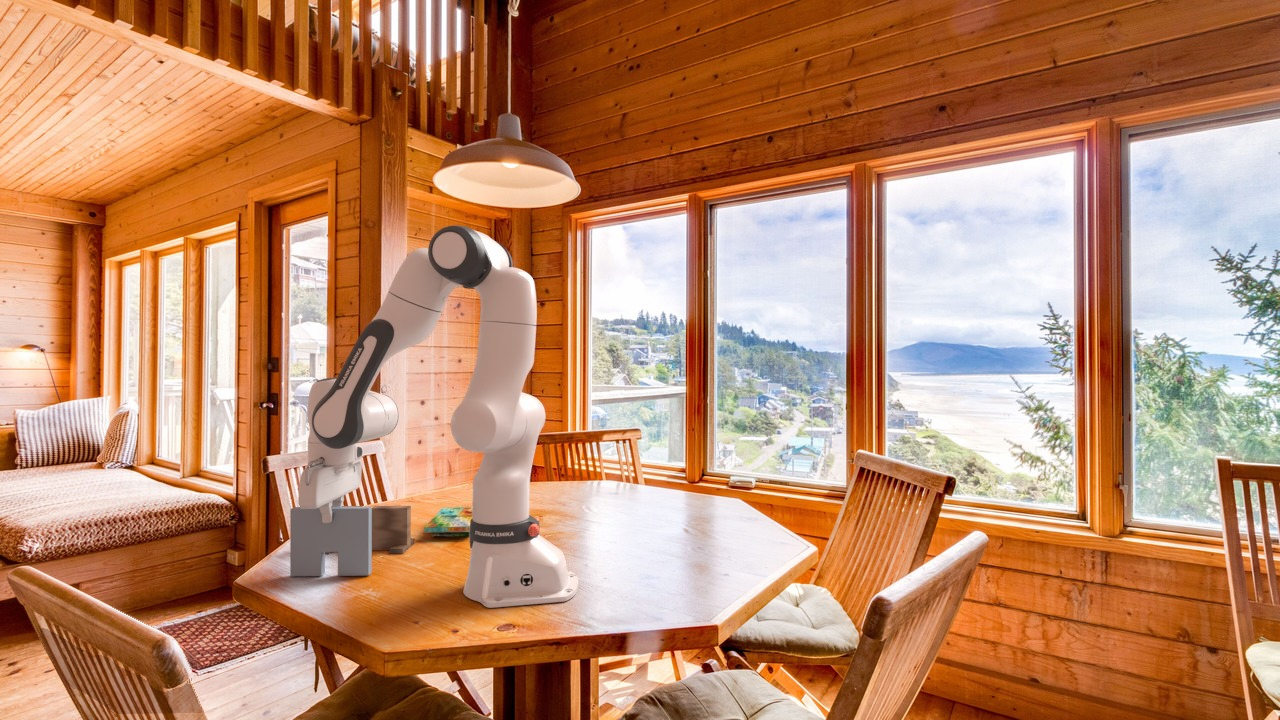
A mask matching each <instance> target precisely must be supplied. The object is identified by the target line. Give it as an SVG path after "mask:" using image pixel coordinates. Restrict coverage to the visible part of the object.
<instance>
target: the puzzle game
mask: <svg viewBox="0 0 1280 720" xmlns="http://www.w3.org/2000/svg"><path fill="white" fill-rule="evenodd" d="M472 515H473V506H463V507H462V506H451V507H449V506H448V507H447V506H444V507H441V509H440V510H439V511H438V512H437V513H436V515H434V516H433V517H432V519H431V520H430V521H429V522H428V523H427V524H426V525H425V526H424V527H423V532H424V533H426V534H427V533H429V534H430V536H432V537H434V536H446V537H469V527H470V520H471V519H472Z"/></svg>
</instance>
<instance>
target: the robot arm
mask: <svg viewBox="0 0 1280 720" xmlns="http://www.w3.org/2000/svg"><path fill="white" fill-rule="evenodd" d="M459 287H462V288H464V289H467V290H468V289H471V290H475V291H476V292H477V293H478V296H479V299H480V313H479V314H480V315H479V316H480V317H479V329H478V340H477V341H478V342H477V353H476V360H475V365H474V368H473V372H472V376H471V377H470V381H469V384H468V388H467V391H466V392H465V396H464V397H463V399H462V401H461V402H460V404H459V405H458V406H457V407H456V408H455V410H454V411H453V413H452V415H451V419H450V432H451V435H452V437H453V439H454V441H455V443H457V445H458V446H459V447H461V449H464V450H465V451H469V452H473V453H483V455H482V460H481V463H480V465H479V468H478V470H477V471H476V473H475V474H474V476H473V480H472V507H473V515H472V519H471V520H470V527H469V536H468V538H469V539H468V540H469V548H470V555H469V556H470V557H469V558H470V559H469V565H468V570H467V576H466V578H465V579H466V580H465V583H464V587H463V590H462V592H463V595H464V596H465V597H466V598H468V599H469V600H473V601H475V602H479V603H481V604H482V605H483V606H484V607H485V608H490V609H491V608H492V609H493V608H502V607H504V608H505V607H515V606H516V607H517V606H525V605H527V606H529V605H538V604H551V603H561V602H568V601H570V600H571V599H572V598H573V597H575V595H576V594H577V592H578V590H579V584H580V583H579V578H578V576H577V574H576V573H574V572H573V571H570V570H568V565H567V561H566V557H565V554H564V553H563V551H562V550H561V549H560V548H558V547H557V546H556V545H554V544H552V543H551V542H550V541H549V540H547V539H546V538H544V536H542V535H540V518H539V517H538V516H537V518H535V517H534V516H533V515H531V514H530V493H531V492H530V487H531V486H530V485H531V473H532V467H533V463H534V462H533V461H534V457H535V454H536V453H535V452H536V448H537V443H538V439H539V436H540V434H541V431H542V429H543V428H544V426H545V423H546V419H547V418H546V409H545V407H544V404H543V403H542V402H541V401H540V400H539V399H538V398H537V397H536V396H533V395H531V394H529V393H527V392H526V393H525V392H523V389H524V385H525V382H526V379H527V376H528V374H529V373H530V371H531V370H532V368H533V366H534V363H535V354H536V353H535V352H536V351H535V350H536V340H537V338H536V336H537V335H536V334H537V324H538V323H537V321H538V320H537V319H538V317H537V315H538V308H537V307H538V305H537V291H536V284H535V280H534V279H533V276H532V275H530V273H528V272H527V271H525V270H523V269H520V268H518V267H514V263H513V258H512V256H511V254H510V253H509V251H508V249H507V248H506V247H505V246H504V245H503V244H502V243H501V242H498V241H495V239H493V238H491V237H490V235H487V234H485V233H483V232H481V231H477V230H475V229H472V228H471V227H468V226H464V225H458V224H457V225H448V226H444V227H443V228H440V229H439V230H438V231H436V232H435V234H434V235H433V236H432V237H431V240H429V244H428V247H419V248H415V249H413V250H411V251H410V252H408V254H407V256H406V258H405V259H404V260H403V262H402V263H401V265H400V267H399V268H398V270H397V272H396V274H395V275H394V277H393V279H392V282H391V283H390V287H389V288H388V291H387V294H386V296H385V298H384V300H383V302H382V304H381V306H380V307H379V309H378V311H377V312H376V315H375V316H374V317H373V318H372V320H371V321H370V322H369V323H368V324H367V325H366V327H365V328H364V329H363V330H362V332H360V333H361V334H360V335H359V336H358V338H357V339H356V342H355V343H354V345H353V347H352V349H351V351H350V353H349V354H348V357H347V358H346V360H345V362H344V363H343V365H342V368H341V370H340V371H339V373H338V375H337V376H335V377H326V378H322V379H318V380H317V381H315V382H313V384H312V385H311V387H310V390H309V395H308V401H307V422H308V423H307V424H308V425H309V434H308V438H307V465H306V467H305V468H304V470H303V471H302V472H301V475H300V477H299V484H298V485H299V486H298V487H299V488H298V497H297V498H298V500H297V501H298V503H297V504H298V507H300V508H301V509H317V508H319V509H320V512H321V514H322V522H323V523H330V522H332V521H333V520H334V513H332V510H331V507H342V506H343V504H344V501H345V495H347V494H349V493H351V492H353V491H356V490H358V489H359V487H360V485H361V482H362V469H363V467H362V465H363V462H362V457H363V456H364V454H365V453H364V447H363V446H361V445H359V444H360V443H363V442H364V443H365V442H369V441H373V440H376V439H379V438H383V437H385V436H387V435H389V434H391V433H393V431H394V430H395V429H396V427H397V426H398V421H399V415H400V414H399V409H398V406H397V404H396V403H395V400H393V399H392V397H390V396H389V395H387V394H383V393H380V392H377V391H374V390H373V391H372V390H371V389H372V388H373V386H374V383H375V381H376V379H377V377H378V375H379V374H380V372H381V370H382V368H383V367H384V365H385V363H387V362H388V361H389V360H390V359H391V358H392V357H394V356H395V355H397V354H398V353H400V352H402V351H404V350H407V349H409V348H412V347H413V346H416V345H419V344H421V343H423V342H424V341H426V340H427V339H428V338H429V337H430V336H431V335H432V333H433V332H434V330H435V329H436V327H437V325H438V323H439V321H440V318H441V316H442V313H443V311H444V309H445V306H446V303H447V301H448V299H449V297H450V295H451V293H452V292H453V291H454V290H455V289H457V288H459ZM358 443H359V444H358Z"/></svg>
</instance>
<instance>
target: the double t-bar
mask: <svg viewBox="0 0 1280 720" xmlns="http://www.w3.org/2000/svg"><path fill="white" fill-rule="evenodd" d="M342 507H364V506H363V505H342ZM411 509H412V506H411V505H374V506H372V551H389V555H403V554H404V553H406V552H407V551H408V550H409V549H410V548H411V547H413V546H414V545H415V538H412V537H411V536H412V535H411V532H412V531H411V526H412V524H411V523H412V522H411V521H412V518H411V517H412V515H411V513H412V512H411V511H412V510H411ZM406 550H407V551H406ZM329 553H330V554H332V553H331V552H325V555H330V554H329Z"/></svg>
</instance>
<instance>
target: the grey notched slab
mask: <svg viewBox="0 0 1280 720" xmlns="http://www.w3.org/2000/svg"><path fill="white" fill-rule="evenodd" d="M372 508H373V506H363V507H331V510H332V513H334V520H333V521H332V522H330V523H323V522H322V514H321V512H320V509H319V508H317V509H301V508H300V506H295V507H291V508H290V511H289V512H290V515H289V516H290V522H289V523H290V526H289V527H290V529H289V530H290V531H289V532H290V533H289V535H290V536H289V537H290V538H289V539H290V543H289V544H290V545H289V546H290V553H289V554H290V555H289V558H290V563H289V565H290V568H289V569H290V570H289V571H290V572H289V573H290V577H321V576H323V575H325V574H326V554H325V552H332V553H337V576H339V577H341V576H345V577H347V576H349V577H352V576H353V577H354V576H358V577H359V576H369V575H371V574H372V571H373V569H372V566H373V564H372V563H373V561H372V560H373V559H372V557H373V555H372V553H373V550H372Z"/></svg>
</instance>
